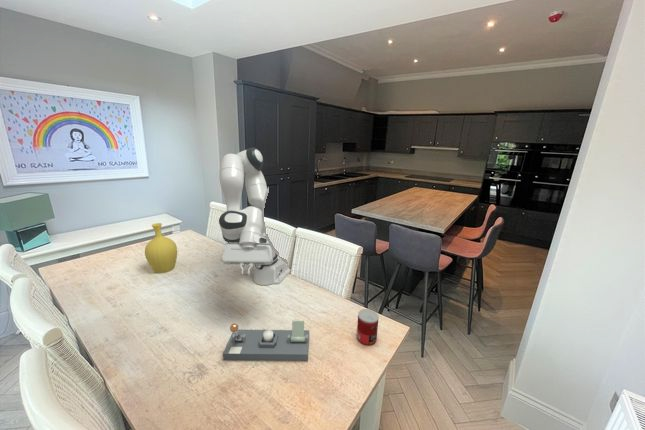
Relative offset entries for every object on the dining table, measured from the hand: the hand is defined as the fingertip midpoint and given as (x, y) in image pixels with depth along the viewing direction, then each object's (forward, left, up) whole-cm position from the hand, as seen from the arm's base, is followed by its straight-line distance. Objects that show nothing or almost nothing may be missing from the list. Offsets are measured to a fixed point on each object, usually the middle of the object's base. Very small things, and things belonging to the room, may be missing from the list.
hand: (245, 274), depth 103 cm
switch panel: (+5, +15, -24) cm, 29 cm away
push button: (+5, +15, -20) cm, 25 cm away
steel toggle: (+11, +6, -20) cm, 23 cm away
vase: (-9, -78, -24) cm, 82 cm away
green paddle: (0, +25, -20) cm, 32 cm away
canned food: (-18, +45, -24) cm, 55 cm away
